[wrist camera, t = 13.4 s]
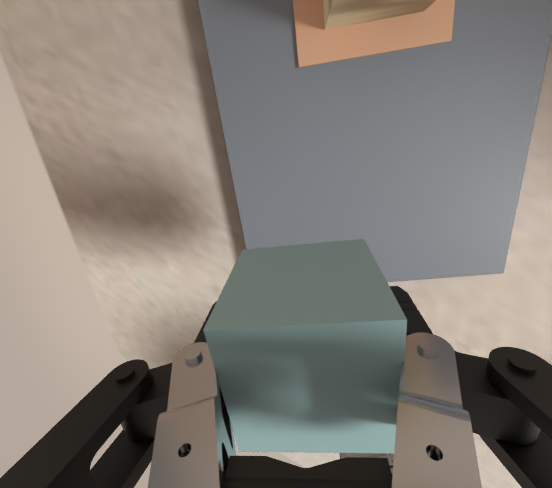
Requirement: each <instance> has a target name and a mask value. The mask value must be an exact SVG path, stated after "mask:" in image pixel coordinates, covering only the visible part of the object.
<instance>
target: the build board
mask: <svg viewBox="0 0 552 488" xmlns="http://www.w3.org/2000/svg"><path fill="white" fill-rule="evenodd" d="M198 4H199V9H200V15H201V20H202V25H203V30H204V35H205V40H206V45H207V51H208V56H209V61H210V66H211V71H212V76H213V81H214V87H215V92H216V97H217V102H218V107H219V112H220V117H221V123H222V128H223V133H224V138H225V143H226V148H227V153H228V159H229V164H230V169H231V174H232V179H233V184H234V189H235V195H236V200H237V205H238V210H239V215H240V220H241V225H242V231H243V236H244V241H245V246H246V249H255V248H266V247H277V246H288V245H299V244H310V243H322V242H333V241H344V240H355V239H364V240H365V242H366V244H367V246H368V247H369V249H370V251H371V253H372V255H373V257H374V259H375V260H376V262H377V264H378V266H379V268H380V270H381V272H382V274H383V275H384V277H385V279H386V281H387V282H395V281H408V280H421V279H434V278H447V277H460V276H473V275H486V274H499V273H504V268H505V263H506V258H507V253H508V248H509V243H510V238H511V233H512V228H513V223H514V219H515V214H516V209H517V204H518V199H519V194H520V189H521V184H522V179H523V174H524V169H525V164H526V159H527V154H528V150H529V145H530V140H531V135H532V130H533V125H534V120H535V115H536V110H537V105H538V100H539V95H540V90H541V85H542V81H543V76H544V71H545V66H546V61H547V56H548V51H549V46H550V41H551V36H552V0H436V1H435V2H434V3H432V4H431V5H430V6H429V7H428V8H427V9H426V10H425V11H423V12H418V13H413V14H407V15H402V16H397V17H392V18H386V19H381V20H376V21H370V22H365V23H360V24H355V25H349V26H344V27H339V28H333V29H328V30H325V27H324V9H323V0H198Z"/></svg>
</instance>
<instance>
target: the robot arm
mask: <svg viewBox="0 0 552 488" xmlns="http://www.w3.org/2000/svg"><path fill="white" fill-rule="evenodd" d="M390 289H391V290H392V292H393V294H394V296H395V298H396V300H397V302H398V303H399V305H400V307H401V309H402V311H403V313H404V315H405V317H406V318H407V331H406V349H405V362H401V373H400V387H399V396H398V409H397V423H396V436H395V450H394V463H393V473H391V470H390V466H389V462H388V458H366V457H346V458H342V459H339V460H335V461H332V462H328V463H325V464H321V465H318V466H314V467H311V468H301V467H298V466H295V465H292V464H289V463H286V462H283V461H279V460H276V459H273V458H270V457H267V456H236V452H235V444H234V435H233V427H232V423H231V419H230V416H229V415H228V412H227V409H226V405H225V402H224V398H223V395H222V392H221V388H220V385H219V378H218V375H217V372H216V368H215V367H214V365H213V361H212V358H211V355H210V351H209V348H208V344H207V341H206V338H205V334H204V331H203V329H204V327H205V325H206V323H207V321H208V319H209V317H210V315H211V313H212V311H213V309H214V307H215V305H216V302H215V303H214V304H213V306H212V308H211V310H210V312H209V314H208V316H207V318H206V321H205V322H204V324H203V326H202V328H201V330H200V332H199V334H198V336H197V338H196V340H195V342H194V343H193V344H190V345H188V346H186V347H184V348H183V349H182V350H180V351H179V352H178V353H177V354H176V356H175V357H174V359H173V363H170V364H167V365H163V366H160V367H157V368H153V369H149V367H148V364H147V363H146V362H145V361H144V360H139V359H138V360H131V361H128V362H125V363H123V364H121V365H119V366H118V367H116V368H115V369H114V370H112V371H111V372H110V373H109V374H108V375H107V376H106V377H105V378H104V379H103V380H102V381H101V382H100V383H99V384H98V385H96V387H94V388H93V389H92V390H91V391H90V392H89V393H88V394H87V395H86V396H85V397H84V398H83V399H82V400H81V401H80V402H79V403H78V404H77V405H76V406H75V407H74V408H73V409H72V410H71V411H70V412H69V413H67V414H66V415H65V416H64V418H62V419H61V420H60V421H59V422H58V423H57V424H56V425H55V426H54V427H53V428H52V429H51V430H50V431H49V432H48V433H47V434H46V435H45V436H44V437H43V438H42V439H40V440H39V441H38V442H37V443H36V444H35V445H34V446H33V447H32V448H31V449H30V450H29V451H28V452H27V453H26V454H25V455H24V456H23V457H22V458H21V459H20V460H19V461H18V462H17V463H16V464H15V465H14V466H13V467H12V468H10V469H9V470H8V471H7V472H6V473H5V474H4V475H3V476H2V477H1V478H0V488H134V486H135V485H136V483H137V482H138V480H139V479H140V477H141V476H142V474H143V473H144V471H145V470H146V468H147V467H148V465H149V463H150V462H151V460H152V462H151V469H150V475H149V482H148V488H482V487H481V481H480V475H479V468H478V462H477V456H476V450H475V444H474V438H473V433H476V434H479V436H480V437H481V438H482V440H483V441H484V442H485V443H486V444H487V446H488V447H489V448H490V449H491V450H492V452H493V453H494V454H495V455H496V457H497V458H498V459H499V460H500V461H501V463H502V464H503V465H504V466H505V467H506V469H507V470H508V471H509V472H510V474H511V475H512V476H513V477H514V478H515V480H516V481H517V482H518V483H519V484H520V486H521V487H522V488H552V365H550V364H549V363H548V362H546V361H545V360H543V359H542V358H540V357H539V356H537V355H535V354H533V353H530V352H528V351H525V350H522V349H518V348H513V347H499V348H496V349H494V350H492V351H491V352H490V354H489V358H482V357H477V356H472V355H467V354H462V353H459V352H456V351H454V349H453V347H452V346H451V345H450V344H449V343H448V342H447V341H445V340H444V339H442V338H441V337H439V336H436V335H433V333H432V331H431V330H430V328H429V327H428V325H427V323H426V322H425V320H424V319H423V317H422V315H421V314H420V312H419V311H418V310H417V307H416V306H415V304H414V303H413V301H412V299H411V298H410V296H409V294H408V293H407V292H406V291H404V290H403V289H401V288H400V287H398V286H390ZM120 424H121V425H122V427H123V430H122V432H121V433H120V434H119V435H118V437H117V438H116V439H115V440H114V442H113V443H112V444H111V445H110V447H109V448H108V449H107V450H106V452H105V453H104V454H103V455H102V457H101V458H100V459H99V460H98V461H97V463H96V464H95V465H94V466H93V468H92V469H91V470H90V465H91V461H92V459H93V457H94V456H95V454H96V452H97V451H98V450H99V449H100V447H101V446H102V445H103V444H104V443H105V441H106V440H107V439H108V438H109V436H111V434H112V433H113V432H114V431H115V430H116V428H117V427H118V426H119V425H120ZM544 433H545V434H546V435H545V434H544Z"/></svg>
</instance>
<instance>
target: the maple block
mask: <svg viewBox="0 0 552 488" xmlns="http://www.w3.org/2000/svg"><path fill="white" fill-rule="evenodd" d="M435 1H436V0H323V9H324V27H325V30H328V29H333V28H339V27H344V26H349V25H355V24H360V23H365V22H370V21H376V20H381V19H386V18H392V17H397V16H402V15H407V14H413V13H418V12H423V11H425V10H426V9H427V8H428V7H429V6H430V5H431V4H432V3H434V2H435Z"/></svg>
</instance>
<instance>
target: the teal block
mask: <svg viewBox="0 0 552 488" xmlns="http://www.w3.org/2000/svg"><path fill="white" fill-rule="evenodd" d="M203 331H204V334H205V338H206V341H207V344H208V348H209V351H210V355H211V358H212V361H213V365H214V367H215V368H216V372H217V375H218V378H219V385H220V388H221V392H222V395H223V398H224V402H225V405H226V409H227V412H228V415H229V416H230V419H231V423H232V427H233V432H234V435H235V439H236V442H237V446H238V449H239V451H240V452H307V453H394V450H395V436H396V423H397V409H398V396H399V387H400V373H401V362H405V349H406V331H407V318H406V317H405V315H404V313H403V311H402V309H401V307H400V305H399V303H398V302H397V300H396V298H395V296H394V294H393V292H392V290H391V289H390V287H389V285H388V283H387V281H386V279H385V277H384V275H383V274H382V272H381V270H380V268H379V266H378V264H377V262H376V260H375V259H374V257H373V255H372V253H371V251H370V249H369V247H368V246H367V244H366V242H365V240H364V239H355V240H344V241H333V242H322V243H310V244H299V245H288V246H277V247H266V248H255V249H244V250H242V251H241V253H240V255H239V257H238V259H237V261H236V263H235V265H234V267H233V269H232V272H231V274H230V276H229V278H228V280H227V282H226V284H225V286H224V288H223V290H222V292H221V294H220V296H219V298H218V300H217V302H216V305H215V307H214V309H213V311H212V313H211V315H210V317H209V319H208V321H207V323H206V325H205V327H204V329H203Z"/></svg>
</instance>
